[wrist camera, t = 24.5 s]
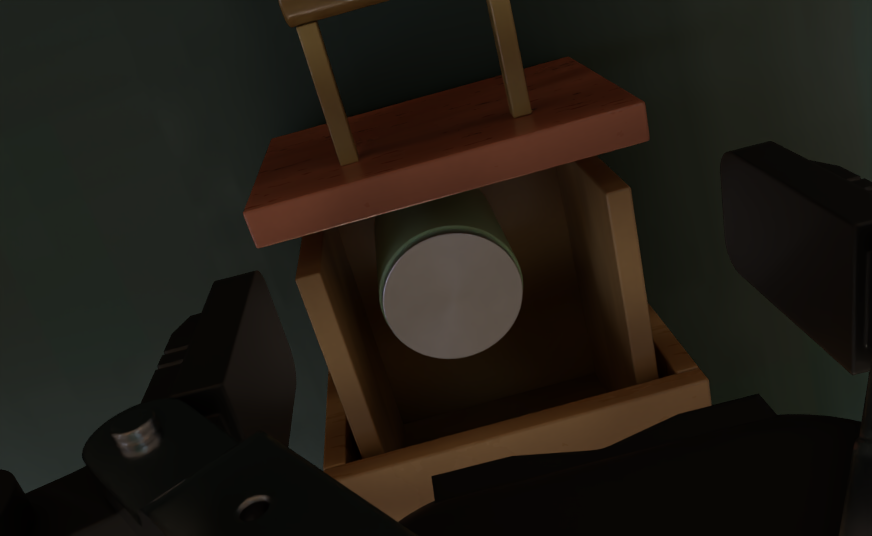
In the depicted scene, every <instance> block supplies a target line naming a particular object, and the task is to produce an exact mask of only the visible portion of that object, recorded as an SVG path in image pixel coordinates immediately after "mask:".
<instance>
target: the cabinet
mask: <svg viewBox="0 0 872 536" xmlns="http://www.w3.org/2000/svg"><path fill="white" fill-rule="evenodd" d="M648 309H649V316H650V323H651V330H652V336H653V343H654V350H655V357H656V364H657V370H658V377H659V379H655V380H652V381H648V382H644V383H641V384H637V385H633V386H630V387H626V388H622V389H619V390H615V391H611V392H608V393H604V394H600V395H596V396H593V397H589V398H585V399H582V400H578V401H574V402H571V403H567V404H563V405H560V406H556V407H552V408H549V409H545V410H541V411H538V412H534V413H530V414H527V415H523V416H519V417H515V418H512V419H508V420H504V421H501V422H497V423H493V424H490V425H486V426H482V427H479V428H475V429H471V430H468V431H464V432H460V433H457V434H453V435H449V436H445V437H442V438H438V439H434V440H431V441H427V442H423V443H420V444H416V445H412V446H409V447H405V448H401V449H398V450H394V451H390V452H387V453H383V454H379V455H376V456H372V457H368V458H364V459H362V457H361V454H360V451H359V449H358V446H357V443H356V441H355V438H354V435H353V433H352V430H351V427H350V425H349V422H348V419H347V417H346V414H345V411H344V409H343V406H342V403H341V401H340V398H339V395H338V393H337V390H336V387H335V385H334V382H333V379H332V377H331V374H330V371H328V390H327V408H326V427H325V445H324V464H323V469H324V471H323V472H325V473H326V474H328V475H329V476H331V477H332V478H334V479H335V480H337V481H338V482H340V483H341V484H343V485H344V486H346V487H347V488H349V489H350V490H352V491H353V492H355V493H356V494H358V495H359V496H360V497H362V498H363V499H365V500H366V501H368V502H369V503H371V504H372V505H374V506H375V507H377V508H378V509H380V510H381V511H383V512H384V513H386V514H387V515H389V516H390V517H392V518H393V519H395V520H396V521H397V522H399V521H400V520H401V519H403V518H404V517H406V516H407V515H409V514H410V513H412V512H414V511H416V510H417V509H419V508H421V507H422V506H424V505H426V504H429V503H431V502H433V501H435V499H434V492H433V485H432V478H431V476H434V475H438V474H442V473H446V472H450V471H454V470H458V469H462V468H466V467H470V466H474V465H478V464H482V463H486V462H490V461H494V460H497V459H501V458H505V457H509V456H518V455H532V454H546V453H560V452H574V451H588V450H597V449H602V448H605V447H608V446H610V445H612V444H615V443H617V442H619V441H621V440H623V439H625V438H627V437H630V436H632V435H634V434H636V433H638V432H640V431H643V430H645V429H647V428H649V427H651V426H653V425H655V424H658V423H660V422H662V421H664V420H666V419H668V418H670V417H673V416H675V415H677V414H680V413H684V412H688V411H692V410H696V409H700V408H704V407H708V406H712V405H711V396H710V387H709V380H708V379H707V377H706V376H705V375H704V373H703V372H702V371H701V370H700V369H699V367H698V366H697V364H696V363H695V362H694V361H693V359H692V358H691V357H690V356H689V354H688V353H687V352H686V350H685V349H684V348H683V347H682V345H681V344H680V343H679V342H678V340H677V339H676V338H675V337H674V335H673V334H672V333H671V331H670V330H669V329H668V328H667V326H666V325H665V324H664V323H663V321H662V320H661V319H660V317H659V316H658V315H657V314H656V312H655V311H654V310H653V309H652V307H651V306H650V305H649V304H648Z"/></svg>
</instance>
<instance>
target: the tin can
mask: <svg viewBox="0 0 872 536" xmlns="http://www.w3.org/2000/svg"><path fill="white" fill-rule="evenodd" d="M374 234H375V249H376V263H377V277H378V290H379V302H380V307H381V311H382V314H383V317H384V319H385V321H386V323H387V324H388V326H389V327H390V329H391V330H392V331H393V333H394V334H395V336H396V337H397V338H398V339H399V340H400V341H401V342H402V343H404V344H405V345H406V346H407V347H409V348H410V349H412V350H414V351H416V352H418V353H420V354H422V355H425V356H429V357H433V358H438V359H459V358H465V357H469V356H472V355H475V354H478V353H480V352H483V351H484V350H486V349H488V348H490V347H491V346H493V345H494V344H496V343H497V342H498V341H499V340H500V339H502V338H503V337H504V336H505V335H506V333H507V332H508V331H509V330H510V328H511V327H512V326H513V324H514V322H515V320H516V318H517V316H518V314H519V311H520V308H521V304H522V299H523V276H522V272H521V268H520V266H519V263H518V261H517V259H516V257H515V255H514V253H513V251H512V249H511V247H510V245H509V243H508V241H507V239H506V237H505V235H504V233H503V231H502V228H501V226H500V224H499V222H498V220H497V218H496V216H495V214H494V212H493V210H492V208H491V206H490V204H489V202H488V201H487V199H486V197H485V196H484V194H483V193H482V192H481V191H480V190H479V189H478V188H476V189H472V190H469V191H465V192H461V193H458V194H454V195H451V196H447V197H443V198H440V199H436V200H432V201H429V202H425V203H421V204H418V205H414V206H411V207H407V208H403V209H400V210H396V211H392V212H389V213H385V214H382V215H378V216H376V219H375V226H374Z"/></svg>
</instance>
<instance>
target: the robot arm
mask: <svg viewBox="0 0 872 536" xmlns="http://www.w3.org/2000/svg"><path fill="white" fill-rule="evenodd" d="M720 174H721V189H722V203H723V218H724V233H725V243H726V248H727V251H728V255H729V257H730V260H731V262H732V264H733V266H734V267H735V269H736V270H737V272H738V273H739V274H740V275H741V276H742V277H744V278H745V279H746V280H747V281H748V282H749V283H750V284H751V285H753V286H754V287H755V288H756V289H757V290H758V291H759V292H760V293H761V294H763V295H764V296H765V297H766V298H767V299H768V300H769V301H770V302H771V303H773V304H774V305H775V306H776V307H777V308H778V309H779V310H780V311H781V312H783V313H784V314H785V315H786V316H787V317H788V318H789V319H790V320H792V321H793V322H794V323H795V324H796V325H797V326H798V327H799V328H800V329H802V330H803V331H804V332H805V333H806V334H807V335H808V336H809V337H810V338H812V339H813V340H814V341H815V342H816V343H817V344H818V345H819V346H820V347H822V348H823V349H824V350H825V351H826V352H827V353H828V354H829V355H831V356H832V357H833V358H834V359H835V360H836V361H837V362H838V363H839V364H841V365H842V366H843V367H844V368H845V369H846V370H847V371H848V372H849V373H851V374H852V375H856V374H860V373H864V372H868V371H870V372H869V378H868V384H867V391H866V397H865V403H864V409H863V416H862V422H859V421H855V420H850V419H844V418H837V417H831V416H820V415H804V414H786V415H777V414H776V413H775V412H774V411H773V410H772V409H771V408H770V406H769V405H768V404H767V403H766V402H765V401H764V399H763V398H762V397H761V396H760V395H759V394H755V395H751V396H747V397H743V398H740V399H736V400H732V401H728V402H724V403H720V404H716V405H712V406H708V407H704V408H700V409H696V410H692V411H688V412H684V413H680V414H677V415H675V416H673V417H670V418H668V419H666V420H664V421H662V422H660V423H658V424H655V425H653V426H651V427H649V428H647V429H645V430H643V431H640V432H638V433H636V434H634V435H632V436H630V437H627V438H625V439H623V440H621V441H619V442H617V443H615V444H612V445H610V446H608V447H605V448H602V449H597V450H588V451H574V452H560V453H546V454H532V455H518V456H509V457H505V458H501V459H497V460H494V461H490V462H486V463H482V464H478V465H474V466H470V467H466V468H462V469H458V470H454V471H450V472H446V473H442V474H438V475H434V476H431V478H432V485H433V492H434V499H435V501H433V502H431V503H429V504H426V505H424V506H422V507H421V508H419V509H417V510H416V511H414V512H412V513H410V514H409V515H407V516H406V517H404V518H403V519H401V520H400V521H399V522H397V521H396V520H395V519H393V518H392V517H390V516H389V515H387V514H386V513H384V512H383V511H381V510H380V509H378V508H377V507H375V506H374V505H372V504H371V503H369V502H368V501H366V500H365V499H363V498H362V497H360V496H359V495H358V494H356V493H355V492H353V491H352V490H350V489H349V488H347V487H346V486H344V485H343V484H341V483H340V482H338V481H337V480H335V479H334V478H332V477H331V476H329V475H328V474H326V473H325V472H323V471H322V470H321V469H319V468H318V467H316V466H315V465H313V464H312V463H310V462H309V461H307V460H306V459H304V458H303V457H301V456H300V455H298V454H297V453H295V452H294V451H292V450H291V449H289V448H288V445H289V437H290V429H291V421H292V413H293V405H294V398H295V390H296V371H295V365H294V360H293V356H292V353H291V349H290V346H289V344H288V341H287V338H286V336H285V333H284V330H283V328H282V325H281V322H280V319H279V317H278V314H277V311H276V309H275V306H274V303H273V300H272V298H271V295H270V292H269V290H268V287H267V284H266V282H265V280H264V278H263V276H262V275H261V273H260V272H259V271H253V272H249V273H245V274H241V275H237V276H233V277H229V278H225V279H221V280H217V281H215V282H214V283H213V285H212V288H211V290H210V293H209V295H208V298H207V300H206V303H205V305H204V308H203V310H202V313H200V314H196V315H192V316H190V317H189V318H188V319H187V320H186V321H185V322H184V323H183V324H182V325H181V326H180V327H179V328H178V329H176V330H175V331H174V332H173V333H172V335H171V337H170V339H169V341H168V344H167V346H166V348H165V350H164V354H165V355H162V357H161V359H160V361H159V364H158V366H157V367H158V370H155V373H154V375H153V377H152V379H151V382H150V384H149V386H148V388H147V390H146V393H145V395H144V397H143V399H142V402H141V404H138V405H136V406H133V407H131V408H129V409H127V410H125V411H123V412H121V413H119V414H117V415H116V416H114V417H113V418H111V419H109V420H108V421H107V422H105V423H104V424H103V425H102V426H100V427H99V428H98V429H97V430H96V431H95V432H94V433H93V434H92V435H91V436H90V438H89V439H88V441H87V442H86V444H85V446H84V448H83V452H82V458H83V461H84V462H85V464H86V466H85V467H83V468H81V469H79V470H77V471H75V472H73V473H71V474H69V475H66V476H64V477H62V478H60V479H57V480H55V481H53V482H51V483H48V484H46V485H44V486H42V487H39V488H37V489H35V490H33V491H30V492H28V493H26V494H25V493H24V492H23V490H22V488H21V487H20V485H19V483H18V482H17V480H16V478H15V477H14V476H13V474H12V473H10V472H9V471H6V470H0V536H872V182H871V181H869V180H867V179H865V178H864V179H861V178H860V176H858V175H856V174H854V173H852V172H850V171H848V170H846V169H844V168H842V167H840V166H837V165H832V164H826V163H821V162H816V161H811V160H808V159H806V158H804V157H802V156H800V155H798V154H796V153H794V152H792V151H790V150H788V149H786V148H784V147H782V146H780V145H778V144H776V143H774V142H772V141H768V142H764V143H760V144H756V145H752V146H748V147H744V148H741V149H737V150H733V151H729V152H726V153H725V154H724V155H723V157H722V159H721V165H720Z"/></svg>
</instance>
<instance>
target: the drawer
mask: <svg viewBox="0 0 872 536" xmlns="http://www.w3.org/2000/svg"><path fill="white" fill-rule="evenodd" d="M385 1H389V0H278V2H279V5H280V8H281V11H282V14H283V16H284V19H285V21H286V23H287V24H288V26H289V27H296V26H297V32H298V36H299V39H300V42H301V45H302V48H303V51H304V54H305V57H306V60H307V64H308V67H309V70H310V73H311V76H312V79H313V82H314V85H315V88H316V92H317V95H318V98H319V101H320V104H321V107H322V110H323V113H324V116H325V119H326V124H323V125H319V126H316V127H312V128H308V129H305V130H301V131H298V132H294V133H290V134H287V135H283V136H280V137H276V138H272V139H271V141H270V144H269V147H268V149H267V152H266V154H265V157H264V160H263V162H262V165H261V167H260V170H259V173H258V175H257V178H256V181H255V183H254V186H253V188H252V191H251V194H250V196H249V199H248V201H247V204H246V207H245V209H244V212H243V215H244V218H245V220H246V223H247V225H248V228H249V231H250V233H251V236H252V238H253V241H254V243H255V246H256V247H257V248H262V247H266V246H269V245H273V244H276V243H280V242H284V241H287V240H291V239H295V238H298V237H302V241H301V247H300V253H299V260H298V266H297V272H296V278H295V281H296V284H297V286H298V289H299V292H300V294H301V297H302V299H303V302H304V305H305V307H306V310H307V313H308V315H309V318H310V321H311V323H312V326H313V329H314V331H315V334H316V337H317V339H318V342H319V345H320V347H321V350H322V353H323V355H324V358H325V361H326V363H327V366H328V369H329V371H330V374H331V377H332V379H333V382H334V385H335V387H336V390H337V393H338V395H339V398H340V401H341V403H342V406H343V409H344V411H345V414H346V417H347V419H348V422H349V425H350V427H351V430H352V433H353V435H354V438H355V441H356V443H357V446H358V449H359V451H360V454H361V457H362V459H364V458H368V457H372V456H376V455H379V454H383V453H387V452H390V451H394V450H398V449H401V448H405V447H409V446H412V445H416V444H420V443H423V442H427V441H431V440H434V439H438V438H442V437H445V436H449V435H453V434H457V433H460V432H464V431H468V430H471V429H475V428H479V427H482V426H486V425H490V424H493V423H497V422H501V421H504V420H508V419H512V418H515V417H519V416H523V415H527V414H530V413H534V412H538V411H541V410H545V409H549V408H552V407H556V406H560V405H563V404H567V403H571V402H574V401H578V400H582V399H585V398H589V397H593V396H596V395H600V394H604V393H608V392H611V391H615V390H619V389H622V388H626V387H630V386H633V385H637V384H641V383H644V382H648V381H652V380H655V379H659V377H658V370H657V364H656V357H655V350H654V343H653V336H652V330H651V323H650V316H649V309H648V302H647V295H646V289H645V282H644V275H643V268H642V261H641V255H640V248H639V241H638V234H637V227H636V220H635V214H634V207H633V200H632V193H631V188H630V187H629V186H628V185H627V184H626V183H625V182H624V181H623V180H622V179H621V178H620V177H619V176H618V175H617V174H616V173H614V172H613V171H612V170H611V169H610V168H609V167H608V166H607V165H606V164H605V163H604V162H603V161H602V160H601V159H600V158H598V157H597V156H596V155H599V154H603V153H606V152H610V151H614V150H617V149H621V148H625V147H628V146H632V145H635V144H639V143H643V142H646V141H649V139H650V136H649V129H648V121H647V113H646V106H645V102H644V101H642V100H641V99H639V98H637V97H636V96H634V95H632V94H630V93H629V92H627V91H625V90H624V89H622V88H620V87H619V86H617V85H615V84H614V83H612V82H610V81H609V80H607V79H605V78H604V77H602V76H600V75H599V74H597V73H595V72H594V71H592V70H590V69H589V68H587V67H585V66H584V65H582V64H580V63H579V62H577V61H575V60H574V59H572V58H570V57H564V58H561V59H557V60H553V61H550V62H546V63H543V64H539V65H535V66H532V67H528V68H525V69H523V64H522V59H521V54H520V49H519V44H518V39H517V34H516V29H515V24H514V19H513V14H512V9H511V4H510V0H486V2H487V7H488V11H489V16H490V21H491V25H492V30H493V35H494V40H495V44H496V49H497V54H498V59H499V63H500V68H501V73H502V75H499V76H496V77H492V78H489V79H485V80H481V81H478V82H474V83H471V84H467V85H463V86H460V87H456V88H453V89H449V90H445V91H442V92H438V93H435V94H431V95H427V96H424V97H420V98H417V99H413V100H409V101H406V102H402V103H399V104H395V105H391V106H388V107H384V108H380V109H377V110H373V111H370V112H366V113H362V114H359V115H355V116H352V117H348V118H347V115H346V112H345V109H344V106H343V103H342V99H341V96H340V93H339V90H338V86H337V83H336V80H335V77H334V73H333V70H332V67H331V64H330V60H329V57H328V54H327V51H326V47H325V44H324V41H323V38H322V34H321V31H320V28H319V25H318V22H317V20H321V19H324V18H328V17H331V16H335V15H339V14H342V13H346V12H349V11H353V10H356V9H360V8H364V7H367V6H371V5H374V4H378V3H381V2H385ZM476 188H478V189H479V190H480V191H481V192H482V193H483V194H484V196H485V197H486V199H487V201H488V202H489V204H490V206H491V208H492V210H493V212H494V214H495V216H496V218H497V220H498V222H499V224H500V226H501V228H502V231H503V233H504V235H505V237H506V239H507V241H508V243H509V245H510V247H511V249H512V251H513V253H514V255H515V257H516V259H517V261H518V263H519V266H520V268H521V272H522V276H523V299H522V304H521V308H520V311H519V314H518V316H517V318H516V320H515V322H514V324H513V326H512V327H511V328H510V330H509V331H508V332H507V333H506V335H505V336H504V337H503V338H502V339H500V340H499V341H498V342H497V343H496V344H494V345H493V346H491V347H490V348H488V349H486V350H484V351H483V352H480V353H478V354H475V355H472V356H469V357H465V358H459V359H438V358H433V357H429V356H425V355H422V354H420V353H418V352H416V351H414V350H412V349H410V348H409V347H407V346H406V345H405V344H404V343H402V342H401V341H400V340H399V339H398V338H397V337H396V336H395V334H394V333H393V331H392V330H391V329H390V327H389V326H388V324H387V323H386V321H385V319H384V317H383V314H382V311H381V307H380V302H379V290H378V277H377V263H376V249H375V234H374V226H375V219H376V216H378V215H382V214H385V213H389V212H392V211H396V210H400V209H403V208H407V207H411V206H414V205H418V204H421V203H425V202H429V201H432V200H436V199H440V198H443V197H447V196H451V195H454V194H458V193H461V192H465V191H469V190H472V189H476Z"/></svg>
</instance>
